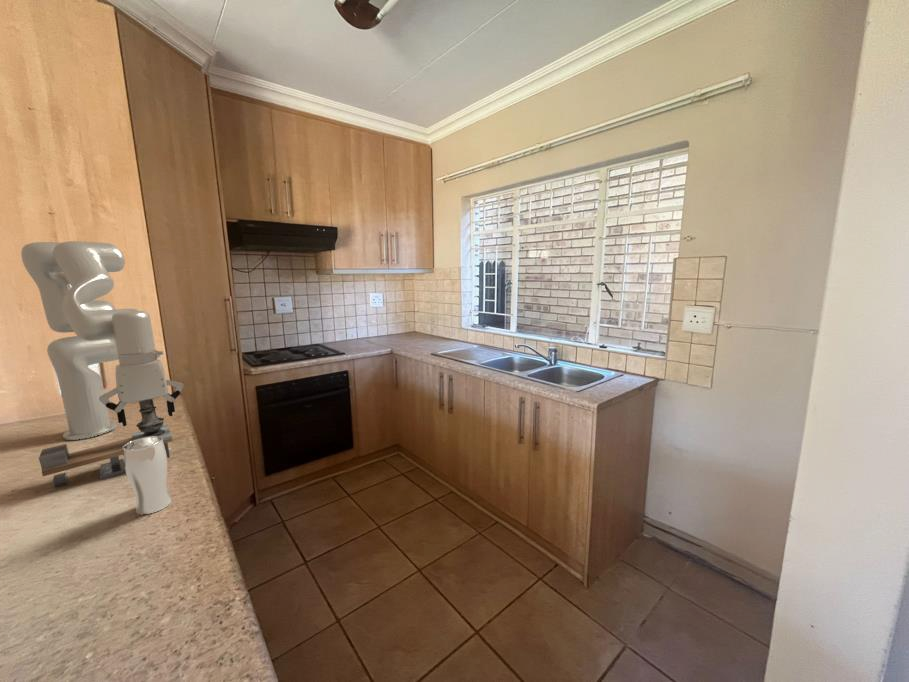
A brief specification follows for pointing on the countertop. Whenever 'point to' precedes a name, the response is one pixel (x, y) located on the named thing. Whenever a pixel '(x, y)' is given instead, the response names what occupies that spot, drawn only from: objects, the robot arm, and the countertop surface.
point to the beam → (86, 454)
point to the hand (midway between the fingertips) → (148, 419)
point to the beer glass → (147, 473)
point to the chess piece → (149, 420)
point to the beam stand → (102, 470)
